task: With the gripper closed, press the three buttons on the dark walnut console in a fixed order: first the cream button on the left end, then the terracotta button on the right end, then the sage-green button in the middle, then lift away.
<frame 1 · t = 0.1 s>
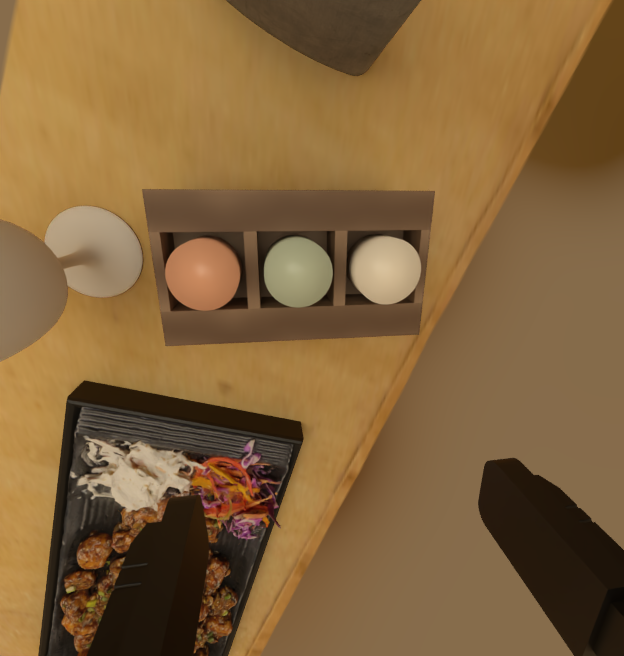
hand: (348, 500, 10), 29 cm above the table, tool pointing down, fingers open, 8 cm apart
food platter: (167, 539, 48), on the table
terracotta button: (206, 271, 25), point 11 cm above the table, slide at 0.0 cm
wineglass: (96, 253, 34), on the table
console: (287, 251, 36), on the table
hip flask: (288, 18, 30), on the table
sage button: (296, 269, 26), point 11 cm above the table, slide at 0.0 cm
cream button: (381, 268, 27), point 11 cm above the table, slide at 0.0 cm
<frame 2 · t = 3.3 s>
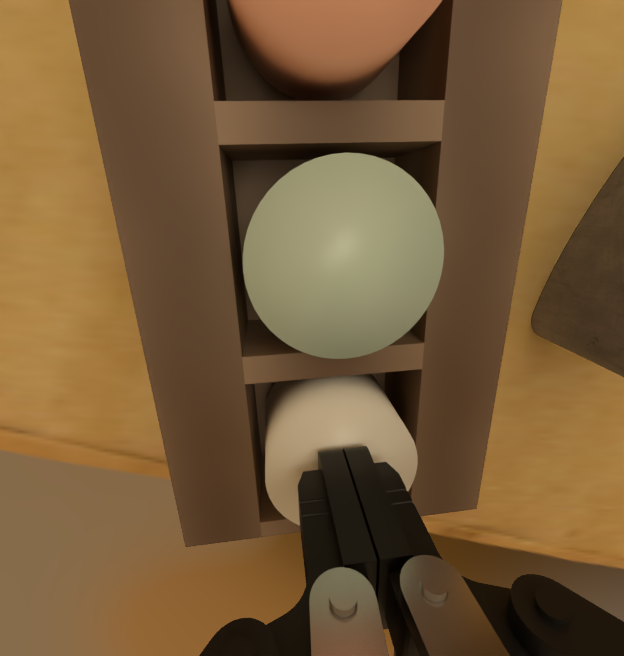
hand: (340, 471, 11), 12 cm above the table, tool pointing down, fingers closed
console: (299, 228, 20), on the table
hip flask: (603, 223, 22), on the table
sage button: (333, 255, 10), point 11 cm above the table, slide at 0.0 cm
cream button: (333, 437, 12), point 10 cm above the table, slide at 0.4 cm, touching gripper
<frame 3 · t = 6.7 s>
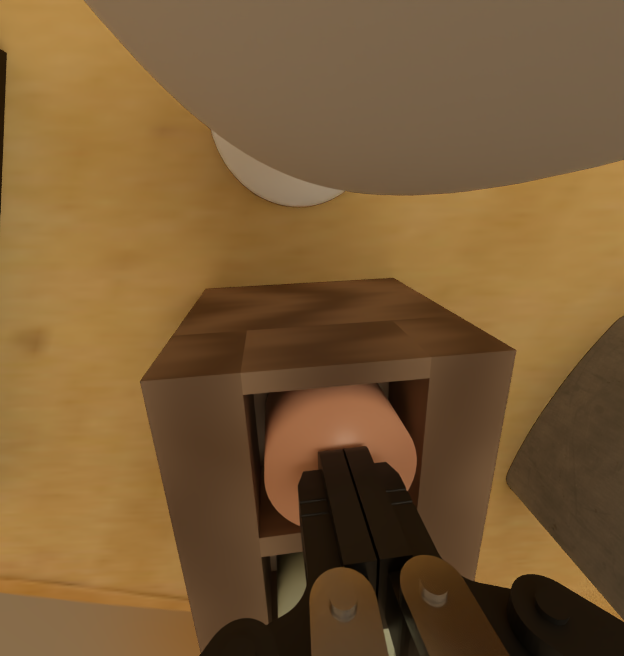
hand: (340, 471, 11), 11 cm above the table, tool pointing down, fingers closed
terracotta button: (332, 437, 12), point 10 cm above the table, slide at 1.0 cm, touching gripper
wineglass: (297, 116, 18), on the table
console: (308, 427, 24), on the table
hip flask: (566, 405, 26), on the table
sage button: (338, 592, 14), point 11 cm above the table, slide at 0.0 cm
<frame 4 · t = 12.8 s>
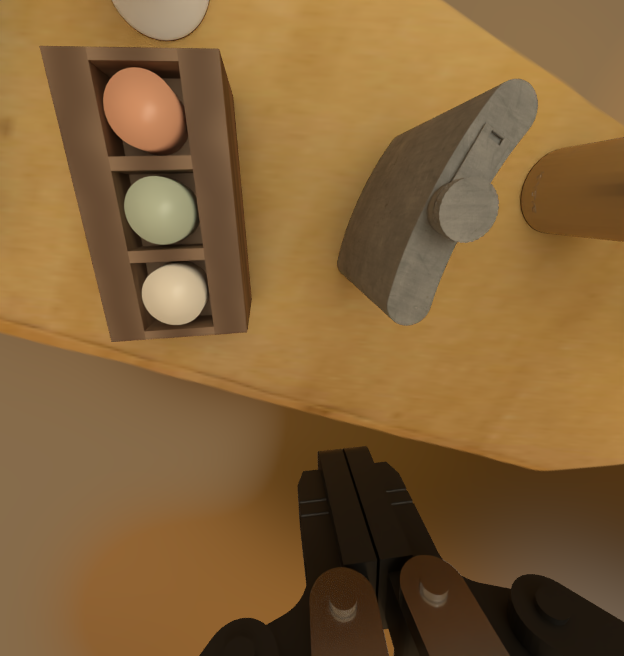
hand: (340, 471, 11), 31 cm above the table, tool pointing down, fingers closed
terracotta button: (149, 115, 25), point 9 cm above the table, slide at 1.4 cm
console: (189, 208, 36), on the table
hip flask: (371, 207, 39), on the table
sage button: (165, 210, 27), point 9 cm above the table, slide at 1.4 cm
cream button: (178, 291, 30), point 9 cm above the table, slide at 1.4 cm
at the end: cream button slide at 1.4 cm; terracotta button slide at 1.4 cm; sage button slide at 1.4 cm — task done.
